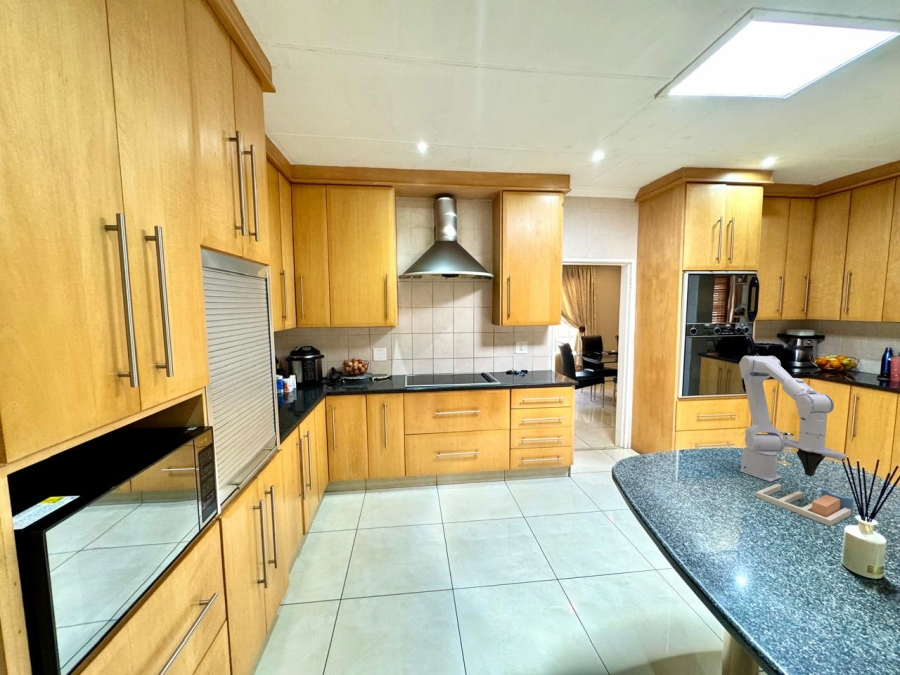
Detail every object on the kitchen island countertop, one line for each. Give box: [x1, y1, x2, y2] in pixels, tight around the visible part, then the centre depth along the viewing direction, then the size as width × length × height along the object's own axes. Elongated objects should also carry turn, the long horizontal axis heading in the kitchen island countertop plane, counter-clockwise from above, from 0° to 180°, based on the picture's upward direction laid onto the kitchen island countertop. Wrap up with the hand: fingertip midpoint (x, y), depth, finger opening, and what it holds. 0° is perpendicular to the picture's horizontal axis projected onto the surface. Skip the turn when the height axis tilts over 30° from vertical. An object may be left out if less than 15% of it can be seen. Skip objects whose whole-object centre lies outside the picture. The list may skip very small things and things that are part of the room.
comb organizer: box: [755, 483, 852, 527], centre depth 109 cm, size 17×13×2 cm
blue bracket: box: [820, 487, 854, 515], centre depth 106 cm, size 6×2×5 cm, turn 24°
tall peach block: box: [811, 495, 840, 517], centre depth 103 cm, size 3×9×4 cm, turn 115°
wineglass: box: [777, 431, 797, 467], centre depth 138 cm, size 6×6×12 cm
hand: (809, 475), depth 109 cm, fingers closed
